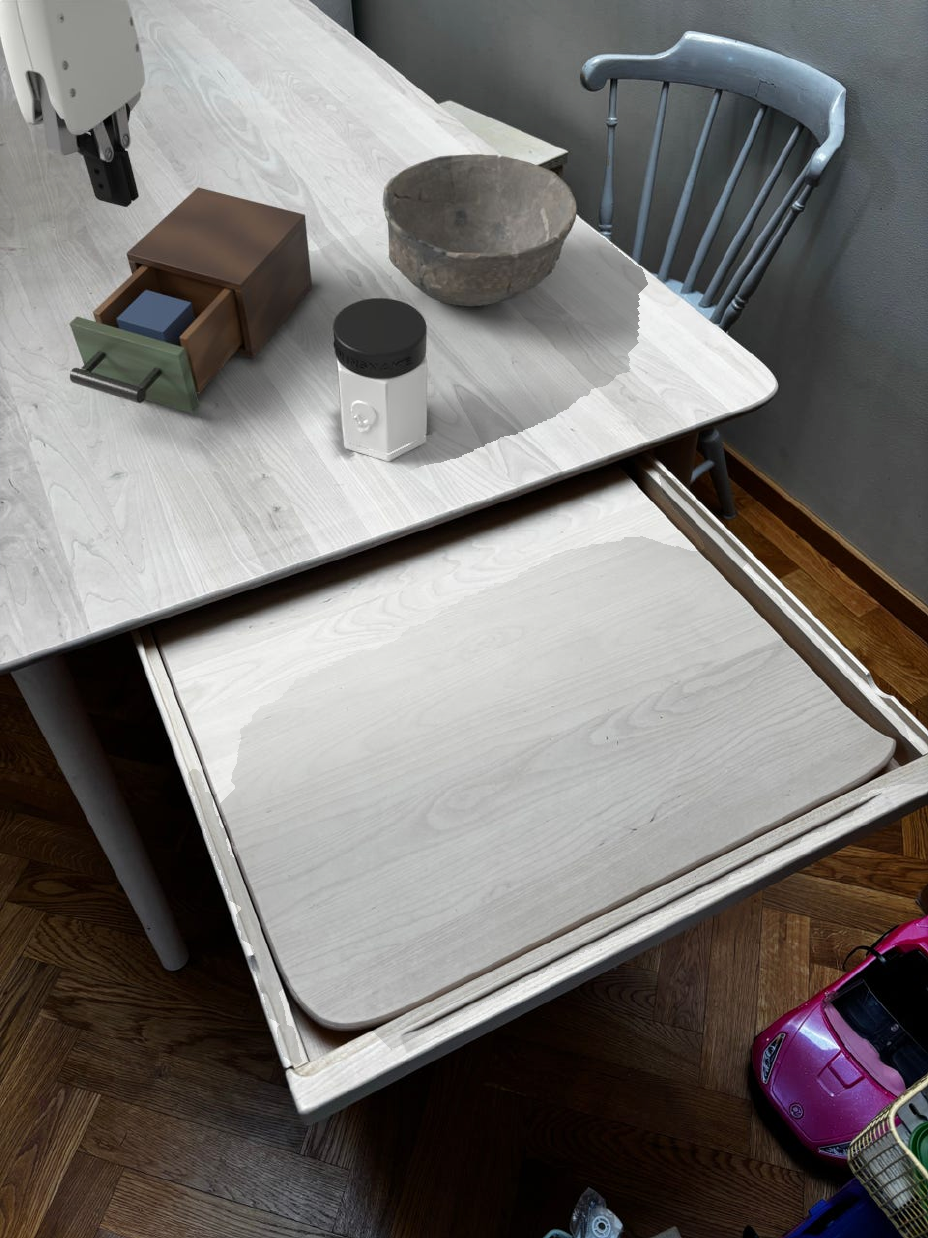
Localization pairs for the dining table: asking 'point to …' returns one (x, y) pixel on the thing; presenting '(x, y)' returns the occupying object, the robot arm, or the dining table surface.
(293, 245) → the cabinet
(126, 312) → the block
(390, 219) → the bowl
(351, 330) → the jar
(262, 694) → the dining table surface
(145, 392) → the drawer
